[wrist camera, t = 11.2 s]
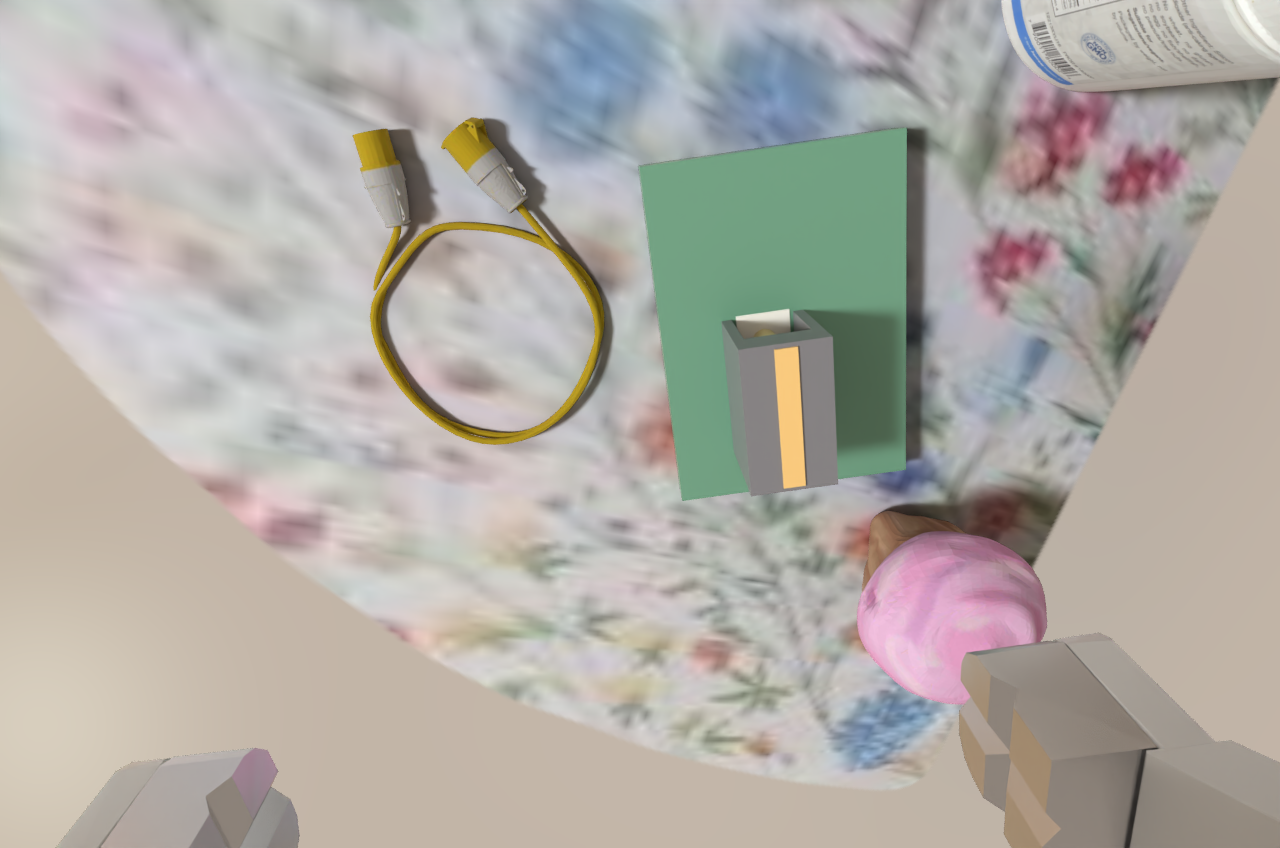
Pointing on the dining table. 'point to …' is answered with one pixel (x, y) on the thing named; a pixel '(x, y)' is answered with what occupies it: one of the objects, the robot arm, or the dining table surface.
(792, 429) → the box
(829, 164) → the header board
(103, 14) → the dining table surface
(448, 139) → the extension cord
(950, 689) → the cupcake
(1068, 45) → the supplement tub
